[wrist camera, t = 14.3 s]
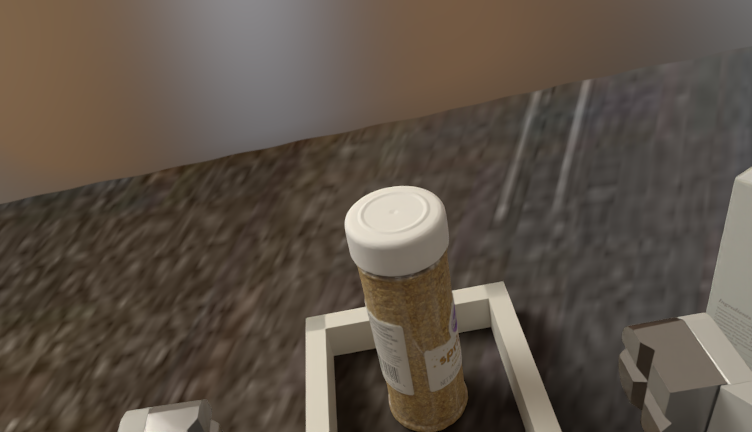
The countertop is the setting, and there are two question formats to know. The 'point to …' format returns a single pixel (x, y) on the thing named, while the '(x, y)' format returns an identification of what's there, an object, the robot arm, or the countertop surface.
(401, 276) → the sprinkles bottle
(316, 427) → the white u-shaped bracket
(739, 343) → the small box
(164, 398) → the countertop surface
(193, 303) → the countertop surface
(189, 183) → the countertop surface
